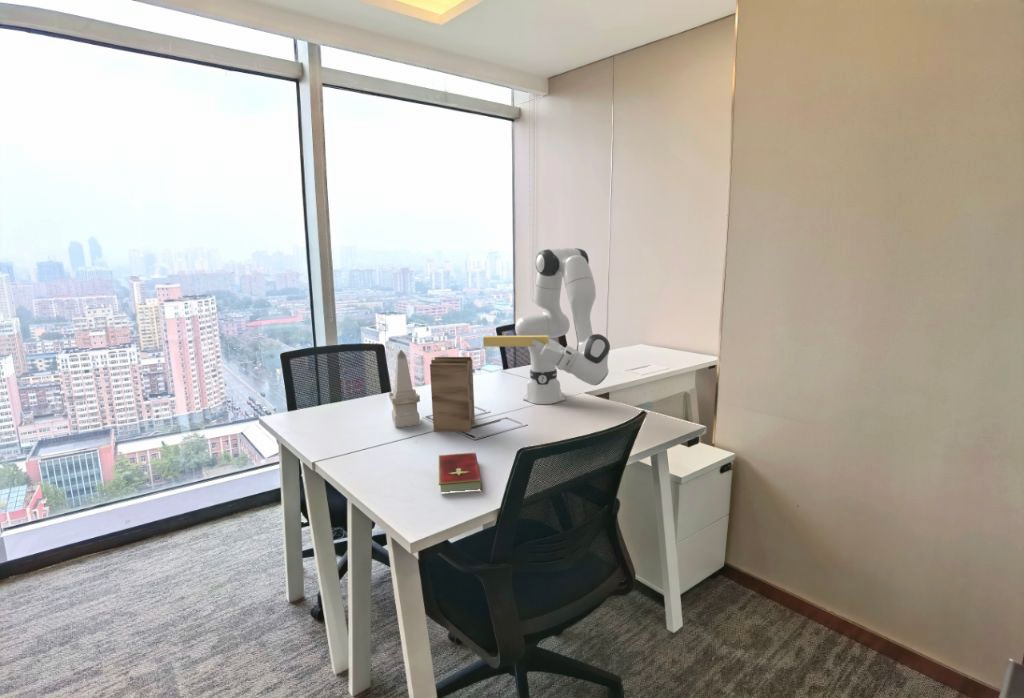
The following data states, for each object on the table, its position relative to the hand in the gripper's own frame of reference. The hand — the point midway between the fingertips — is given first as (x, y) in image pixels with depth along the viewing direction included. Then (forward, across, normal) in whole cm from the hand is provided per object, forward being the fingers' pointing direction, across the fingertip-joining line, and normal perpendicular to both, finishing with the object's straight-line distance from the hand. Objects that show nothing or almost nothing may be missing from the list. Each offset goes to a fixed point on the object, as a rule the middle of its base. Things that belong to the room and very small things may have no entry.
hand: (532, 339), depth 192 cm
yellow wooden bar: (+4, 0, +5) cm, 7 cm away
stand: (+10, 0, +45) cm, 46 cm away
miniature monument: (+28, -4, +56) cm, 63 cm away
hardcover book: (-1, +45, +40) cm, 60 cm away
